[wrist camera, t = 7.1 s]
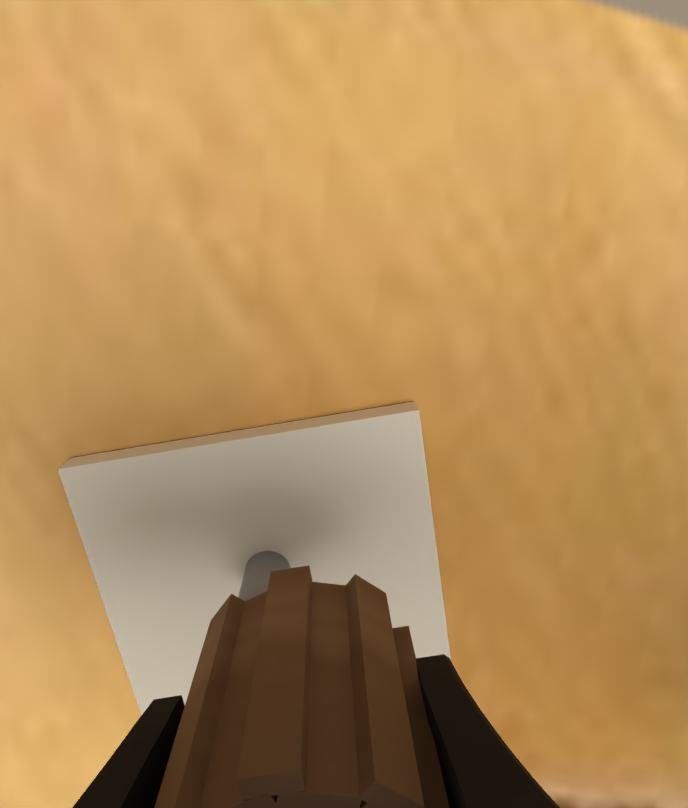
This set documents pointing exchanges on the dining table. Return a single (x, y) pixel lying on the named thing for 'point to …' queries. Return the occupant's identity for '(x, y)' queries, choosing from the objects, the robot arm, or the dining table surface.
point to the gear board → (255, 530)
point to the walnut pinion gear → (305, 706)
